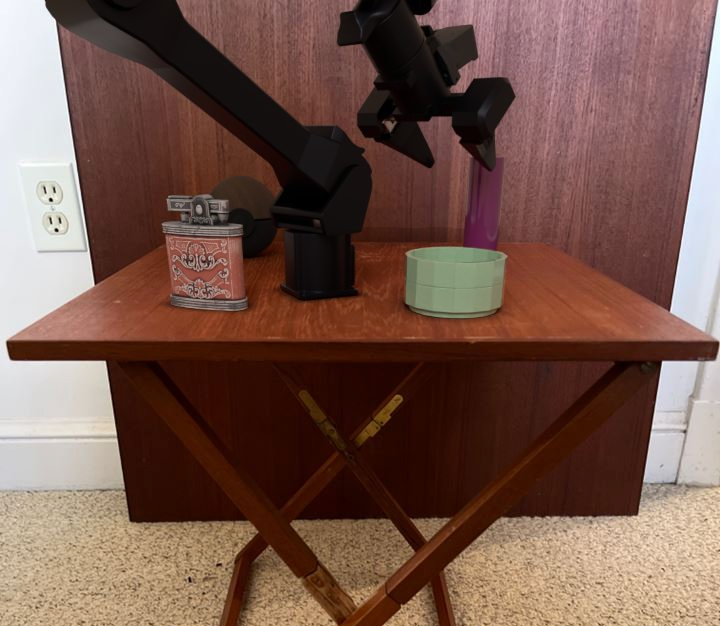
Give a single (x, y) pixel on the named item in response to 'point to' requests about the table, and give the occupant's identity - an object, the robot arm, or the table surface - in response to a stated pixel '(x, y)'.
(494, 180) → the purple cylinder rod
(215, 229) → the lighter
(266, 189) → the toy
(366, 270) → the table surface
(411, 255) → the bowl
